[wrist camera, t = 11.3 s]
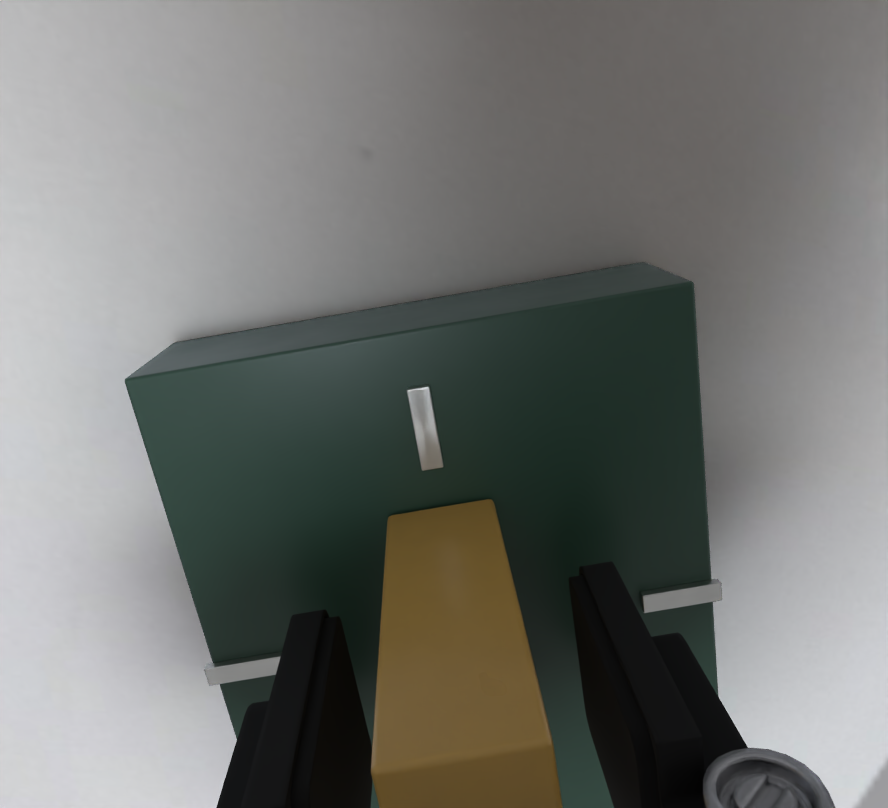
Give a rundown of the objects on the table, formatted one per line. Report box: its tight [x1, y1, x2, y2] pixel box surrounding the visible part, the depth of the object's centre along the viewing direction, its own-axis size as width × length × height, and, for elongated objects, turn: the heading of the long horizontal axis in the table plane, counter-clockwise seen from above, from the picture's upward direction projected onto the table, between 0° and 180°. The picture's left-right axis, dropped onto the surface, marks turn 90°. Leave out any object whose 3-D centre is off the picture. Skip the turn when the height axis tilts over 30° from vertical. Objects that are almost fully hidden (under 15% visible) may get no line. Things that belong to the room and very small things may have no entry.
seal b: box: [371, 499, 563, 808], centre depth 10 cm, size 5×2×6 cm, turn 9°
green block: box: [125, 262, 722, 808], centre depth 14 cm, size 11×9×3 cm
